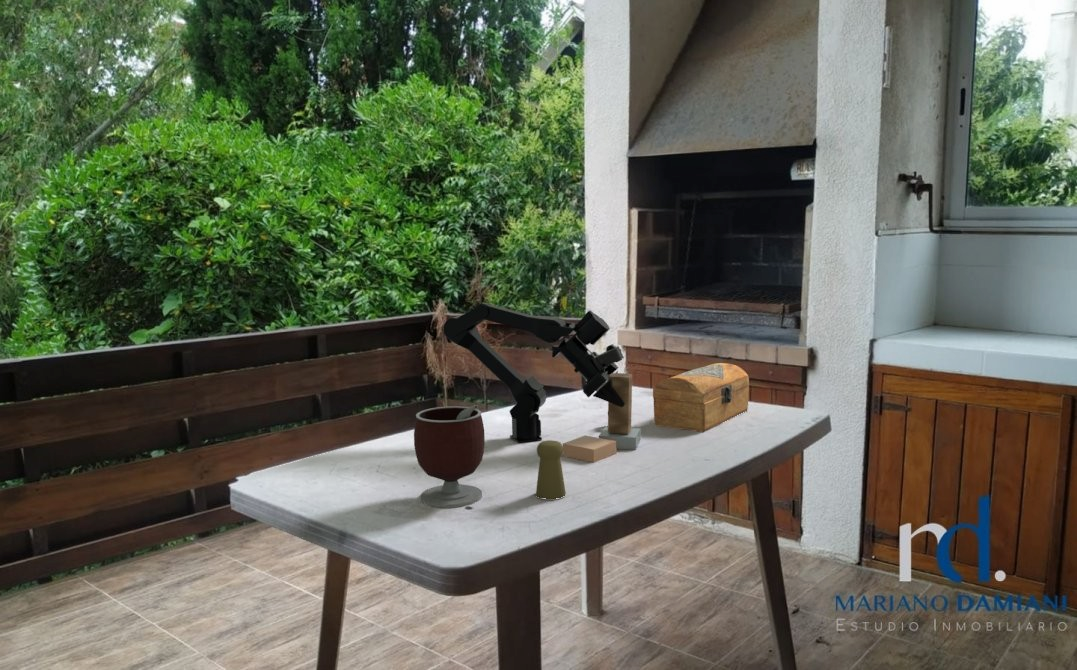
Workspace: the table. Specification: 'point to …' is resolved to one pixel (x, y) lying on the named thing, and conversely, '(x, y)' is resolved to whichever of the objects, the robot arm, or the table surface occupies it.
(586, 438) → the terracotta slab
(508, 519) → the table surface
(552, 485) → the olive green game pawn
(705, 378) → the wooden box
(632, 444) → the stone slab
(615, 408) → the walnut pillar
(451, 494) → the mate gourd
